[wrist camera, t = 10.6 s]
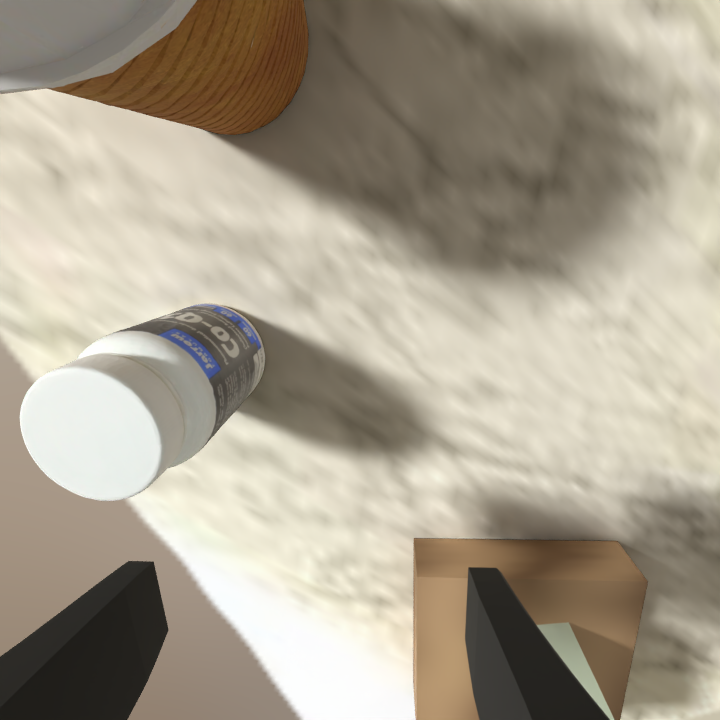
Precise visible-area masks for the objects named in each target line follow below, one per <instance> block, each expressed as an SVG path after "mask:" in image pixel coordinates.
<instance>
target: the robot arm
mask: <svg viewBox="0 0 720 720" xmlns="http://www.w3.org/2000/svg"><path fill="white" fill-rule="evenodd" d="M167 632H168V626H167V621H166V617H165V612H164V608H163V603H162V599H161V594H160V589H159V585H158V580H157V575H156V571H155V566H154V562H143V561H128V562H127V563H125V564H124V565H122V566H121V567H120V568H118V569H117V570H115V571H114V572H113V573H111V574H110V575H109V576H107V577H106V578H105V579H103V580H102V581H101V582H99V583H98V584H97V585H95V586H94V587H93V588H91V589H90V590H89V591H88V592H86V593H85V594H84V595H82V596H81V597H80V598H78V599H77V600H76V601H74V602H73V603H72V604H71V605H69V606H68V607H67V608H66V609H64V610H63V611H61V612H60V613H59V614H57V615H56V616H55V617H53V618H52V619H51V620H49V621H48V622H47V623H45V624H44V625H43V626H41V627H40V628H39V629H38V630H36V631H35V632H33V633H32V634H31V635H29V636H28V637H27V638H25V639H24V640H23V641H22V642H20V643H19V644H17V645H16V646H14V647H13V648H12V649H10V650H9V651H8V652H6V653H5V654H4V655H2V656H1V657H0V720H127V719H128V717H129V715H130V714H131V712H132V710H133V708H134V706H135V704H136V702H137V700H138V698H139V697H140V695H141V693H142V691H143V689H144V687H145V685H146V683H147V681H148V679H149V676H150V674H151V672H152V669H153V667H154V665H155V662H156V660H157V658H158V655H159V652H160V650H161V647H162V645H163V642H164V640H165V637H166V635H167ZM465 643H466V650H467V657H468V663H469V670H470V677H471V683H472V689H473V695H474V699H475V704H476V708H477V712H478V716H479V720H610V719H609V718H608V716H607V715H606V714H605V713H604V712H603V710H602V709H601V708H600V707H599V706H598V704H597V703H596V702H595V701H594V699H593V698H592V697H591V696H590V695H589V693H588V692H587V691H586V690H585V688H584V687H583V686H582V685H581V683H580V682H579V681H578V680H577V678H576V677H575V676H574V675H573V673H572V672H571V671H570V669H569V668H568V667H567V665H566V664H565V663H564V661H563V660H562V659H561V657H560V656H559V655H558V653H557V652H556V651H555V649H554V648H553V647H552V646H551V644H550V643H549V642H548V640H547V639H546V637H545V636H544V635H543V633H542V632H541V631H540V629H539V628H538V626H537V625H536V624H535V622H534V621H533V619H532V618H531V616H530V615H529V614H528V612H527V611H526V609H525V608H524V606H523V605H522V603H521V602H520V600H519V599H518V597H517V596H516V594H515V593H514V591H513V590H512V588H511V587H510V585H509V584H508V582H507V581H506V579H505V577H504V576H503V574H502V573H501V572H500V571H499V570H498V569H497V568H483V567H468V584H467V605H466V626H465Z"/></svg>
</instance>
